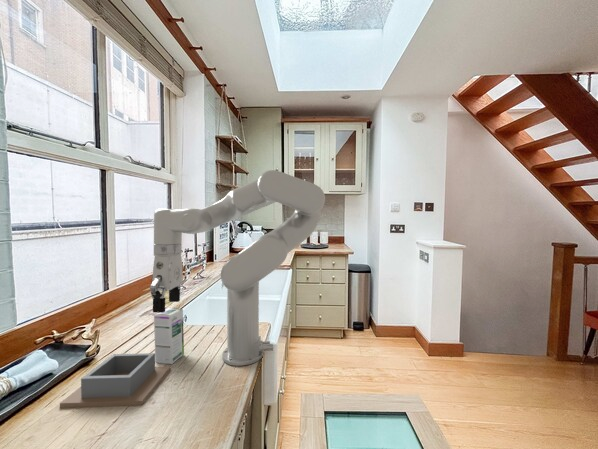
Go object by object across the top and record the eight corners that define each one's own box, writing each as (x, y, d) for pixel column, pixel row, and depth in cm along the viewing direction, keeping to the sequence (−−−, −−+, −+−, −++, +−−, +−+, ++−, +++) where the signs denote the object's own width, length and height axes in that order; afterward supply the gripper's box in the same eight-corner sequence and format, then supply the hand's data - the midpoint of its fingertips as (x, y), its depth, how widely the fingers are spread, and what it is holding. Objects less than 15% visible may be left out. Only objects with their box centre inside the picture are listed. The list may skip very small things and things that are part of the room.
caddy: (170, 369, 72) (170, 350, 72) (142, 405, 58) (141, 381, 58) (104, 371, 72) (104, 351, 72) (59, 407, 58) (59, 383, 58)
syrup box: (171, 364, 75) (171, 315, 75) (154, 362, 76) (153, 313, 76) (184, 354, 80) (183, 308, 80) (167, 353, 82) (167, 307, 81)
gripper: (166, 253, 69) (166, 317, 70) (191, 247, 87) (190, 298, 87) (138, 253, 69) (137, 317, 69) (168, 247, 86) (168, 298, 87)
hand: (167, 306), depth 78 cm, fingers open, 9 cm apart
